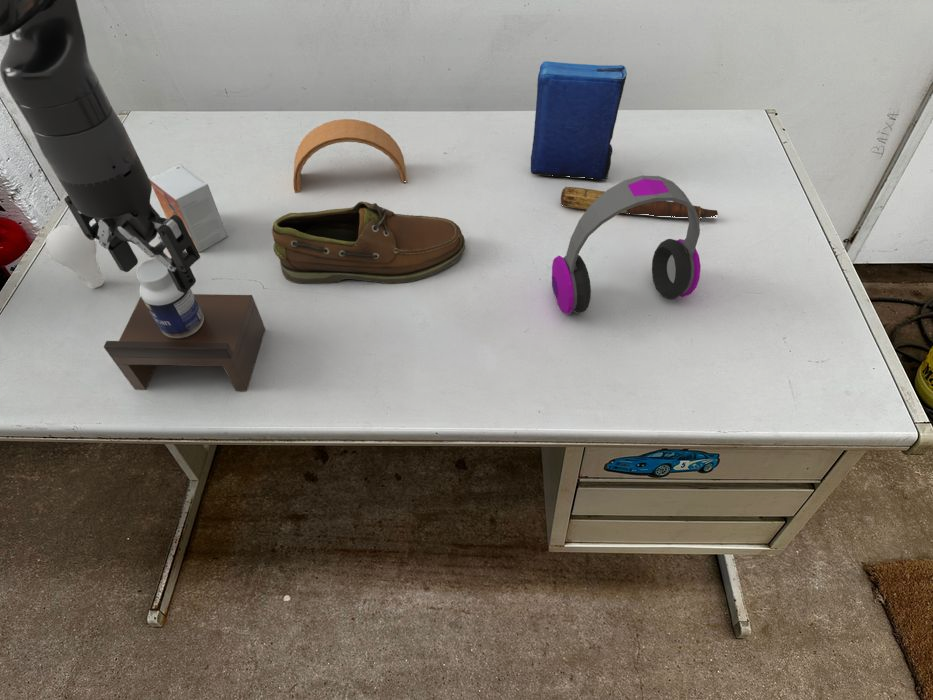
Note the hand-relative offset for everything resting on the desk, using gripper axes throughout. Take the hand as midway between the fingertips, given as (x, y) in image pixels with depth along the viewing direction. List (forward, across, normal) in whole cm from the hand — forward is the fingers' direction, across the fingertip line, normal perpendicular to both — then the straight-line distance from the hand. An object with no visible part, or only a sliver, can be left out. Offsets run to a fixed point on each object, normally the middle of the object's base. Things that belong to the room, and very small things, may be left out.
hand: (158, 277), depth 72 cm
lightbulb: (+16, -24, +5) cm, 29 cm away
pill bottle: (+9, 0, 0) cm, 9 cm away
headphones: (+15, +50, +34) cm, 62 cm away
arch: (+16, -2, +44) cm, 47 cm away
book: (+15, +34, +61) cm, 71 cm away
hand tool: (+15, +48, +55) cm, 75 cm away
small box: (+16, -17, +21) cm, 31 cm away
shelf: (+15, 0, 0) cm, 16 cm away
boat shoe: (+16, +13, +26) cm, 33 cm away
